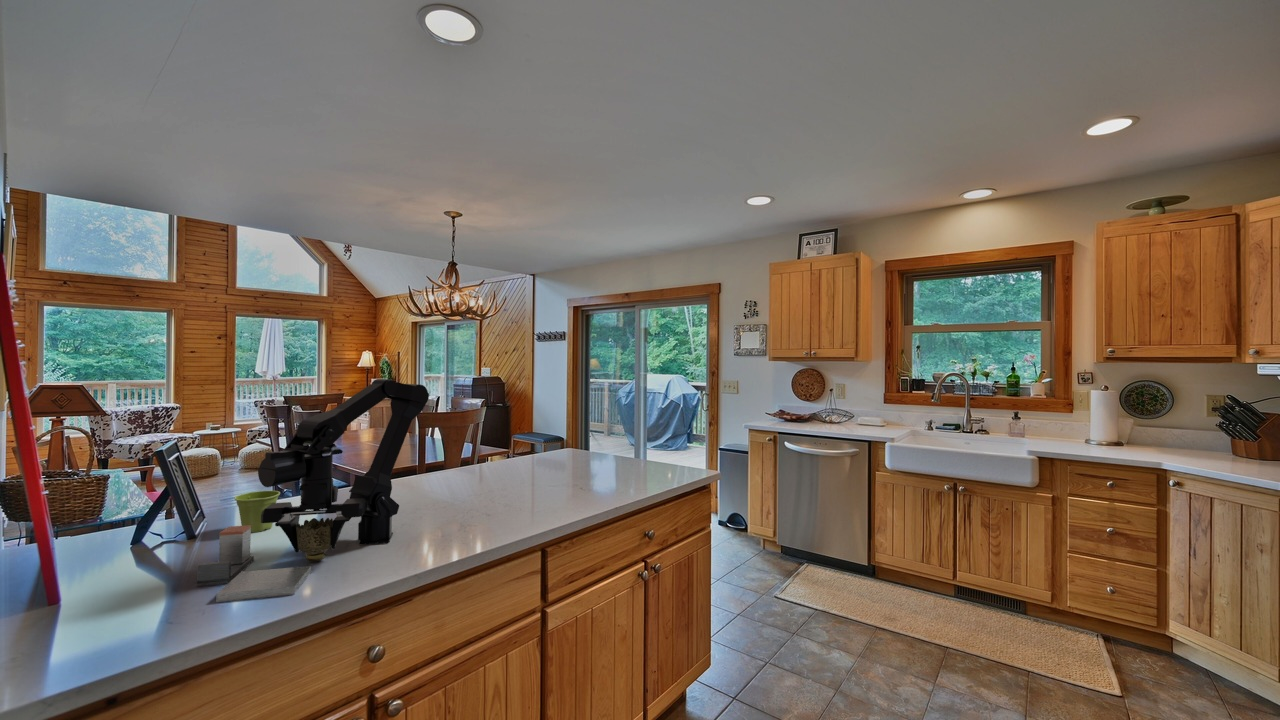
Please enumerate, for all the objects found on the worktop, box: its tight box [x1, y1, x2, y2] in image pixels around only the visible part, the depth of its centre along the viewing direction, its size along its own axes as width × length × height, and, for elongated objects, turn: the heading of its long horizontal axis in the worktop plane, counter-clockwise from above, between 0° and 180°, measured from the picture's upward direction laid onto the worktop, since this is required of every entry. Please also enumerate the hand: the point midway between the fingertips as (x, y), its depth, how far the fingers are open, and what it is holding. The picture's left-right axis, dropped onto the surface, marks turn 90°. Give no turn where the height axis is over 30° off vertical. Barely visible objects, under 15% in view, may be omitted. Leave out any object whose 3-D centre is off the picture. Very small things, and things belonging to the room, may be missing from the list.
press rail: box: [196, 555, 255, 587], centre depth 106 cm, size 5×12×4 cm, turn 17°
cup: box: [295, 517, 334, 563], centre depth 112 cm, size 8×7×8 cm
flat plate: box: [216, 565, 312, 603], centre depth 99 cm, size 12×10×2 cm
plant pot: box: [233, 490, 281, 534], centre depth 132 cm, size 9×9×9 cm
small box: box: [218, 525, 252, 564], centre depth 109 cm, size 4×4×7 cm
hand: (315, 550), depth 112 cm, fingers closed on cup, 6 cm apart
